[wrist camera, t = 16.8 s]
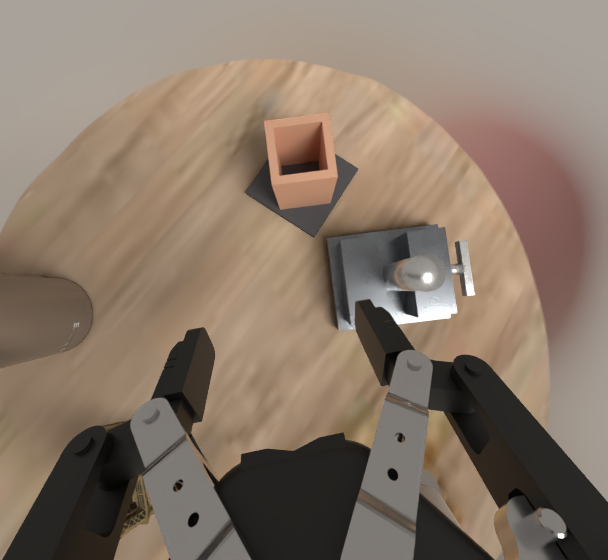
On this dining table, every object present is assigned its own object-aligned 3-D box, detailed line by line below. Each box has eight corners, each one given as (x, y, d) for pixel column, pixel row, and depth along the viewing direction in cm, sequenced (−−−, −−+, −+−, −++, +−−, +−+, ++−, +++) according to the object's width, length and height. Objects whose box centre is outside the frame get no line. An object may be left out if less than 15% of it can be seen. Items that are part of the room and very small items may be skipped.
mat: (246, 194, 30) (245, 192, 29) (290, 128, 30) (290, 125, 30) (313, 237, 30) (313, 236, 29) (357, 170, 30) (358, 168, 29)
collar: (280, 209, 29) (271, 185, 22) (274, 160, 29) (263, 120, 22) (330, 203, 29) (337, 176, 22) (323, 154, 29) (329, 112, 22)
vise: (337, 328, 29) (354, 352, 19) (326, 240, 30) (336, 214, 19) (458, 314, 29) (543, 329, 19) (445, 225, 29) (522, 191, 19)
